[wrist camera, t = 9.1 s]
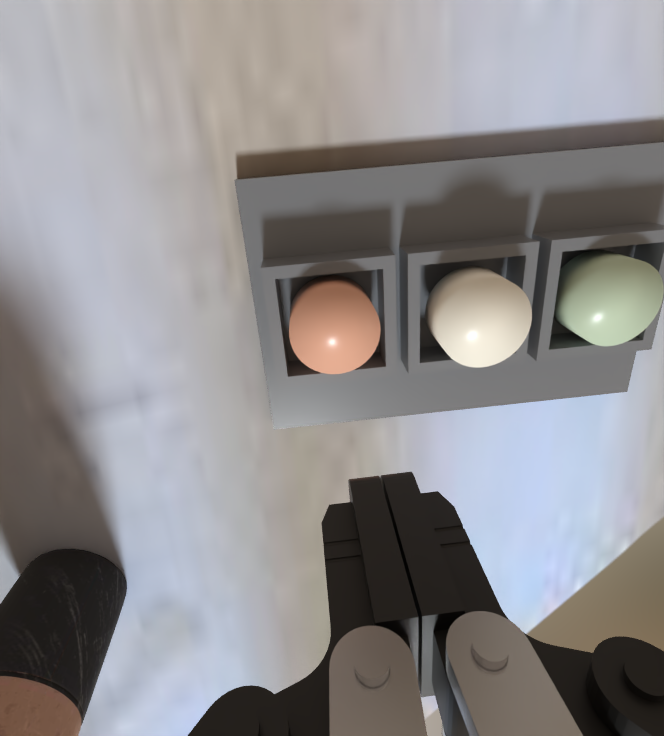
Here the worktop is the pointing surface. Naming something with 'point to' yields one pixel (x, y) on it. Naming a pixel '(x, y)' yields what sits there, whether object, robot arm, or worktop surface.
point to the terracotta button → (333, 325)
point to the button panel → (447, 271)
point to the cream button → (478, 316)
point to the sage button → (607, 297)
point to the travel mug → (56, 641)
